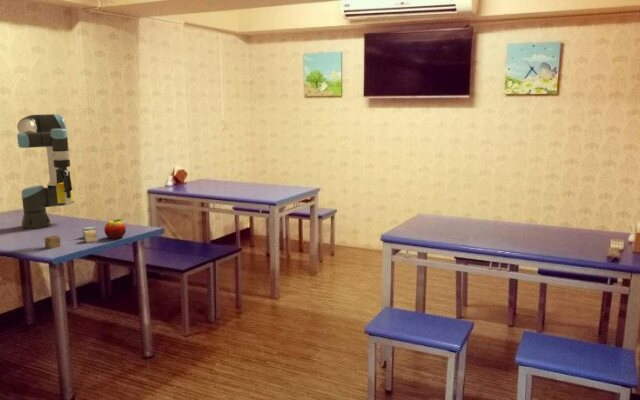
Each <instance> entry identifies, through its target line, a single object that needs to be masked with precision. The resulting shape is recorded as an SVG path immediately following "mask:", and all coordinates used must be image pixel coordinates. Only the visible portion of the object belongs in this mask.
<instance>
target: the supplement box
mask: <svg viewBox="0 0 640 400" xmlns="http://www.w3.org/2000/svg"><path fill="white" fill-rule="evenodd" d="M71 185H72V186H73V183H72V181H71ZM56 190H57V200H58V205H65V206H69V205H68V204H67V205H66V201H65V192H64V191H65V188H64V184H63V182H60V183H57V184H56ZM71 200H72V204H74V203H75V201H74V192H73V189H72V191H71Z"/></svg>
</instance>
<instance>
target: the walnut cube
mask: <svg viewBox="0 0 640 400" xmlns="http://www.w3.org/2000/svg"><path fill="white" fill-rule="evenodd" d="M58 247H61V237H60V236H57V235H50V236H46V237H44V248H47V249H56V248H58Z"/></svg>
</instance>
